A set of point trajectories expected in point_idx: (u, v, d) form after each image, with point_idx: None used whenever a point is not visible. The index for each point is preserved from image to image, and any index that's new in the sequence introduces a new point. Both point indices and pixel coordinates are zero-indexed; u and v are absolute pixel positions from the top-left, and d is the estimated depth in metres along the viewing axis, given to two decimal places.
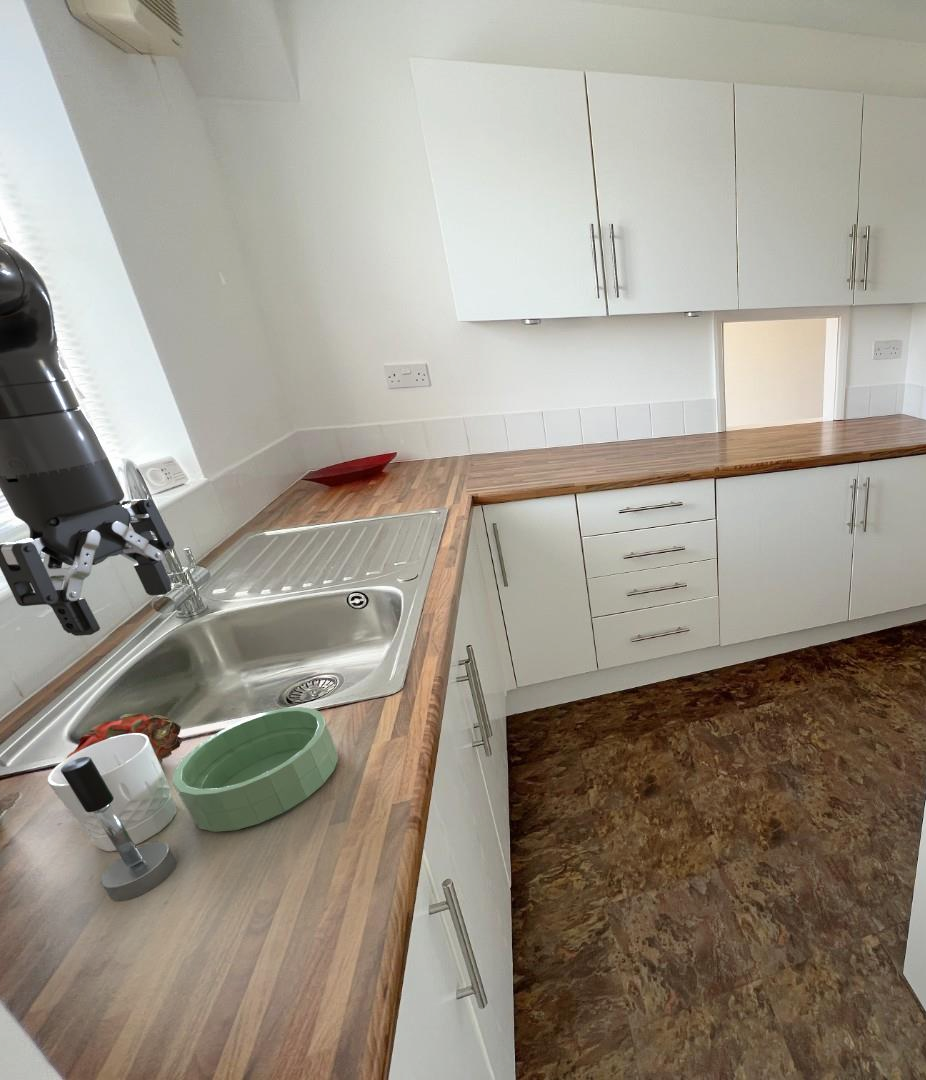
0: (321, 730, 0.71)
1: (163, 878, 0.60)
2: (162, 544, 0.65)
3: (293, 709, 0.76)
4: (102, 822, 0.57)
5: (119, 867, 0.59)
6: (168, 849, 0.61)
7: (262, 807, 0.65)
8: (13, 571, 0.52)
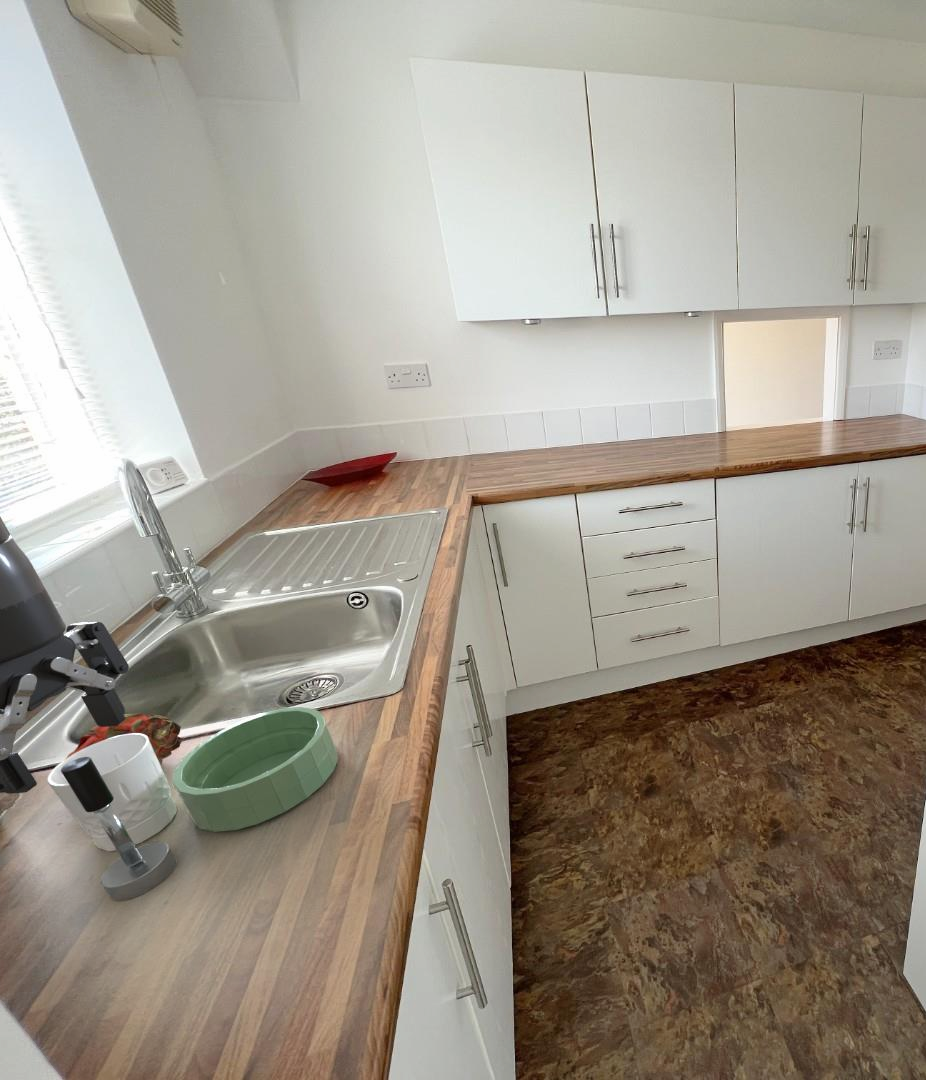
0: (321, 730, 0.71)
1: (163, 878, 0.60)
2: (114, 670, 0.58)
3: (293, 709, 0.76)
4: (102, 822, 0.57)
5: (119, 867, 0.59)
6: (168, 849, 0.61)
7: (262, 807, 0.65)
8: None
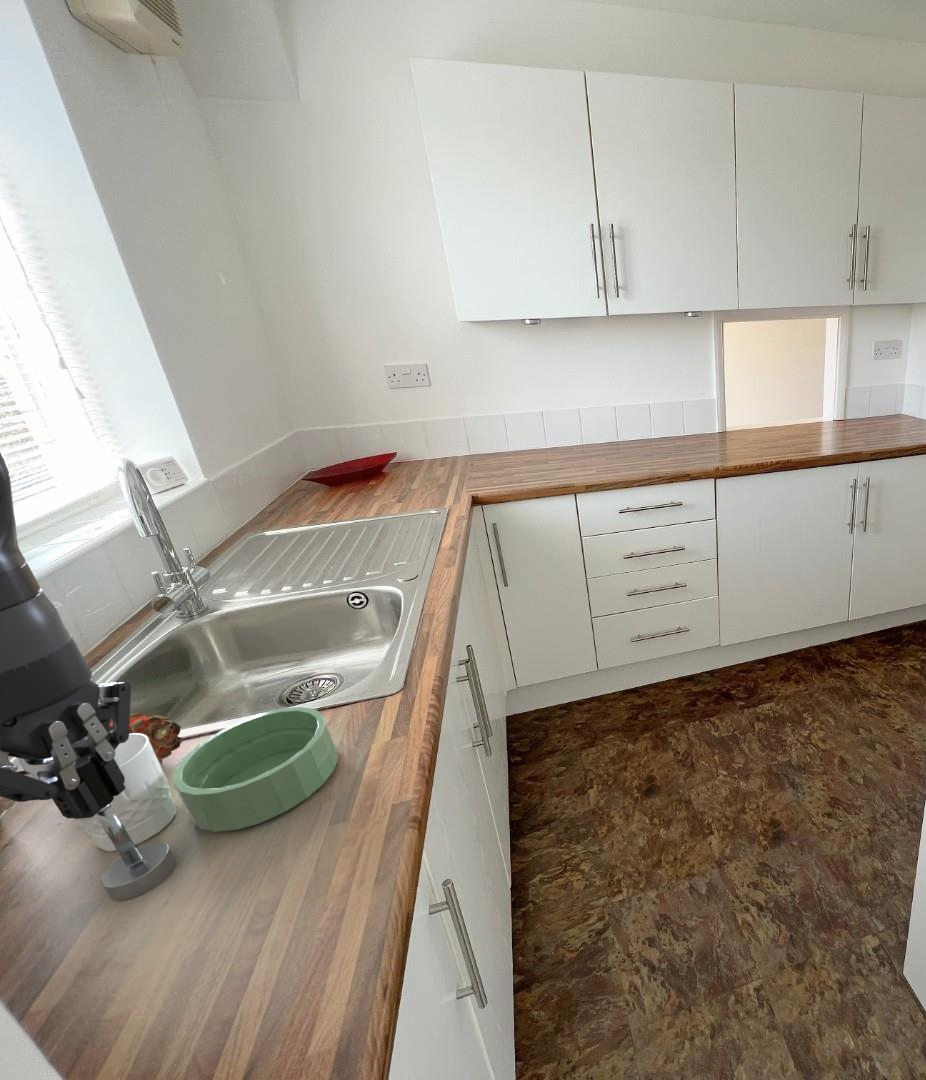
0: (321, 730, 0.71)
1: (163, 878, 0.60)
2: (114, 739, 0.57)
3: (293, 709, 0.76)
4: (102, 821, 0.57)
5: (119, 867, 0.59)
6: (168, 849, 0.61)
7: (262, 807, 0.65)
8: None
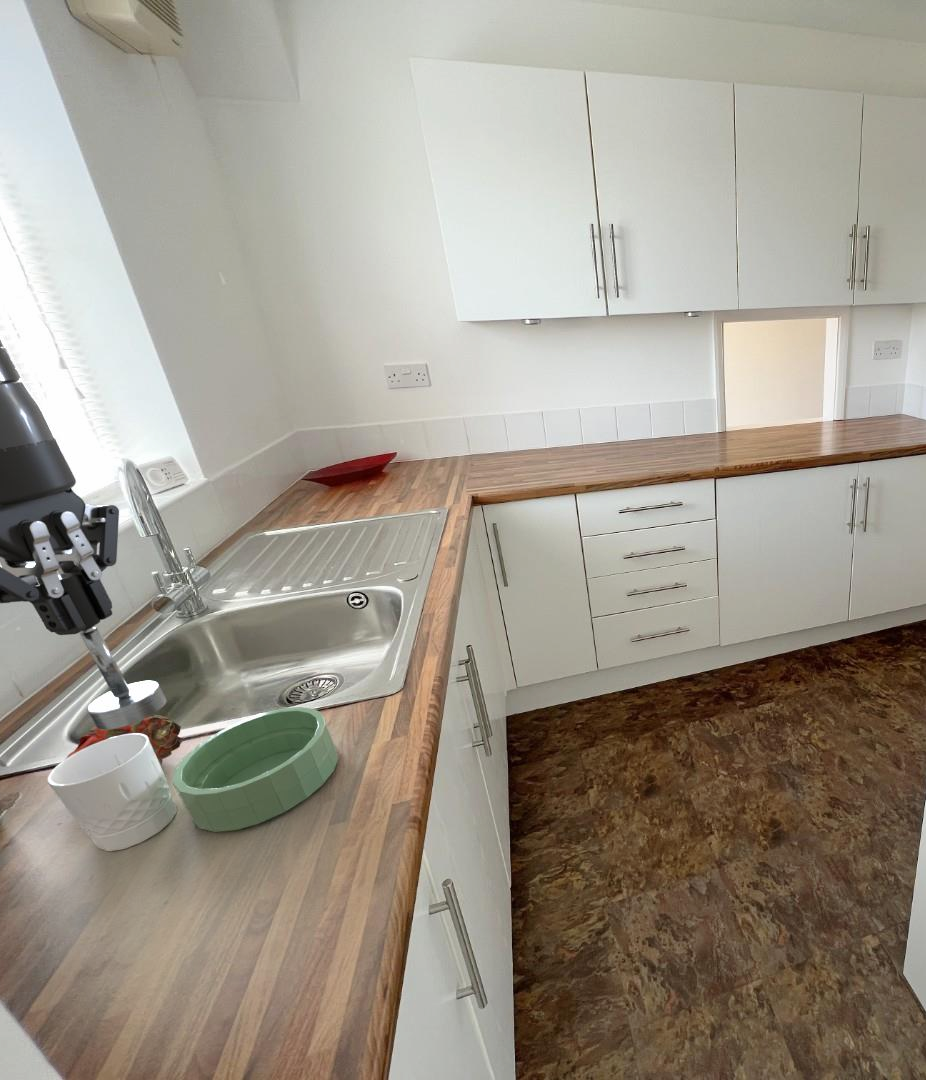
0: (321, 730, 0.71)
1: (152, 712, 0.58)
2: (101, 560, 0.55)
3: (293, 709, 0.76)
4: (88, 643, 0.54)
5: (107, 699, 0.57)
6: (158, 685, 0.59)
7: (262, 807, 0.65)
8: None
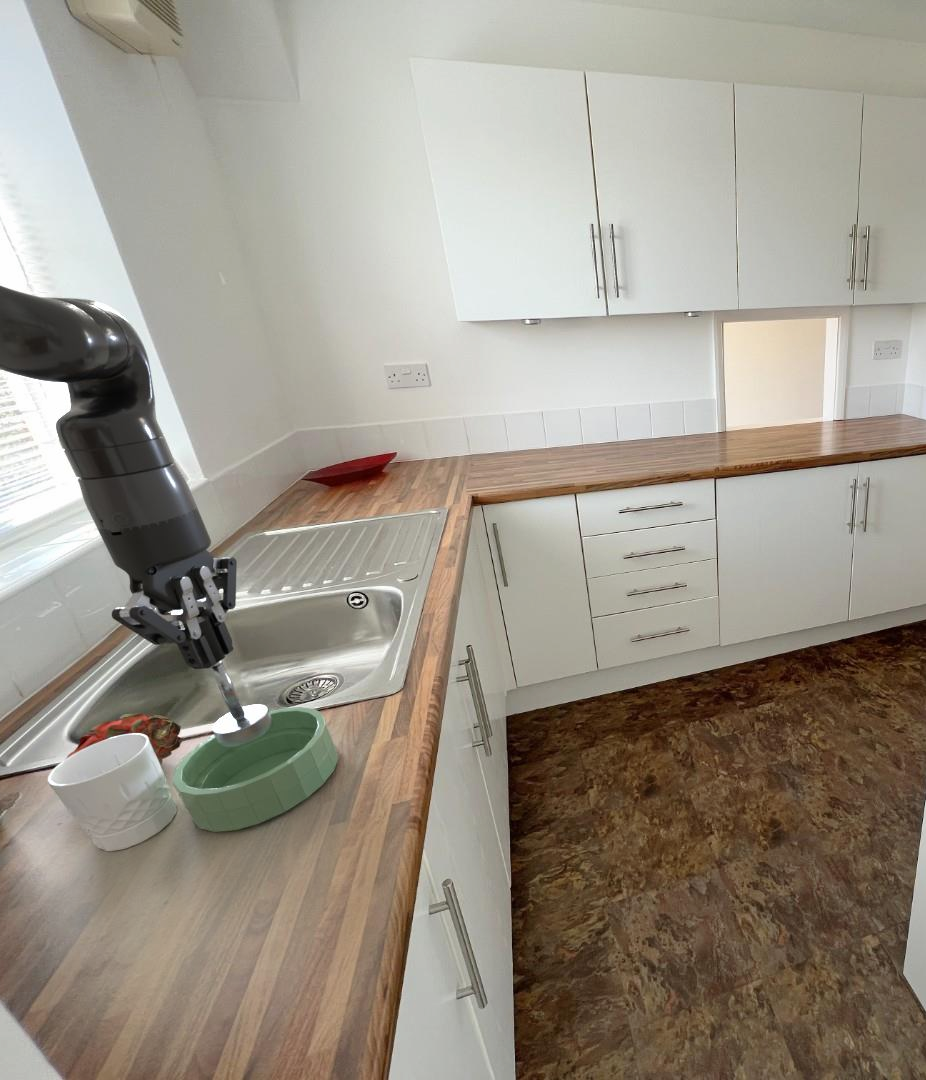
0: (321, 730, 0.71)
1: (264, 731, 0.68)
2: (225, 605, 0.65)
3: (293, 709, 0.76)
4: (216, 675, 0.65)
5: (226, 721, 0.67)
6: (267, 709, 0.69)
7: (262, 807, 0.65)
8: (139, 628, 0.57)
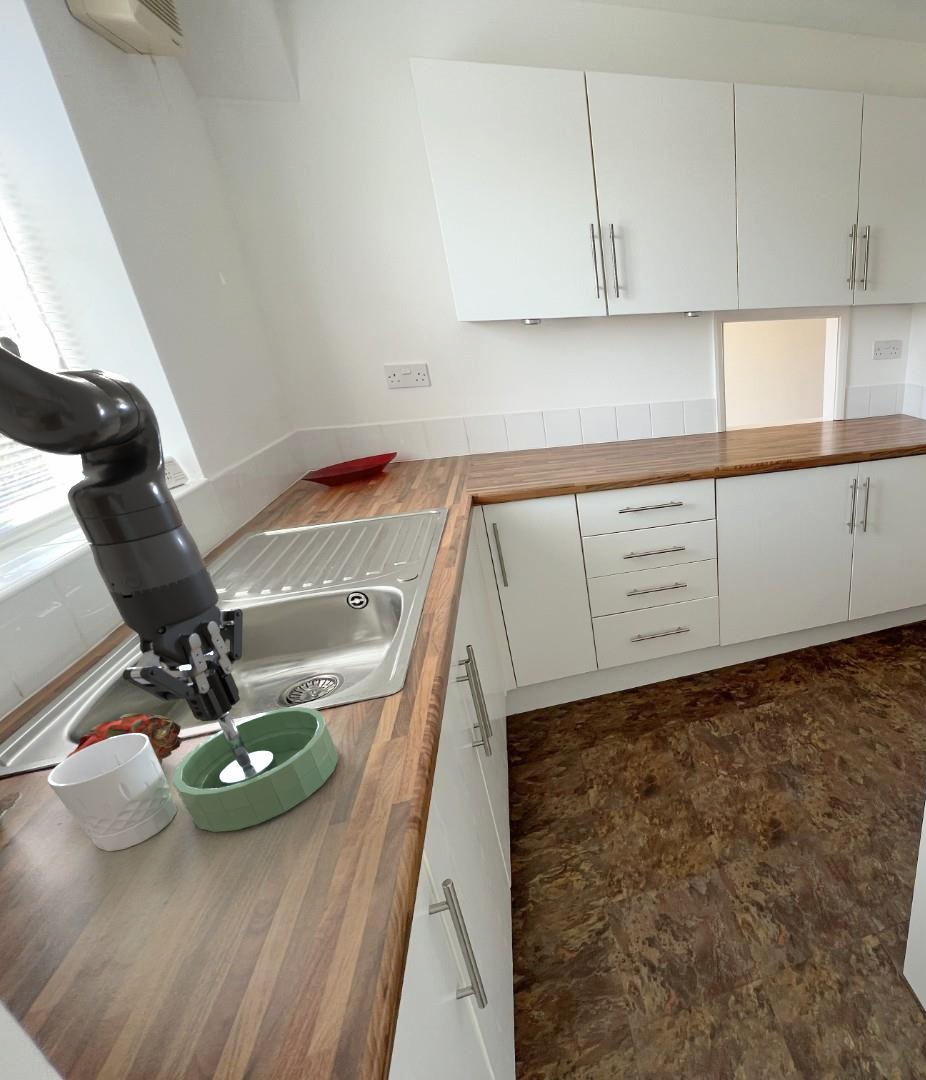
0: (321, 730, 0.71)
1: None
2: (231, 656, 0.67)
3: (293, 709, 0.76)
4: (223, 726, 0.66)
5: (233, 769, 0.69)
6: (272, 755, 0.71)
7: (262, 807, 0.65)
8: (149, 686, 0.58)
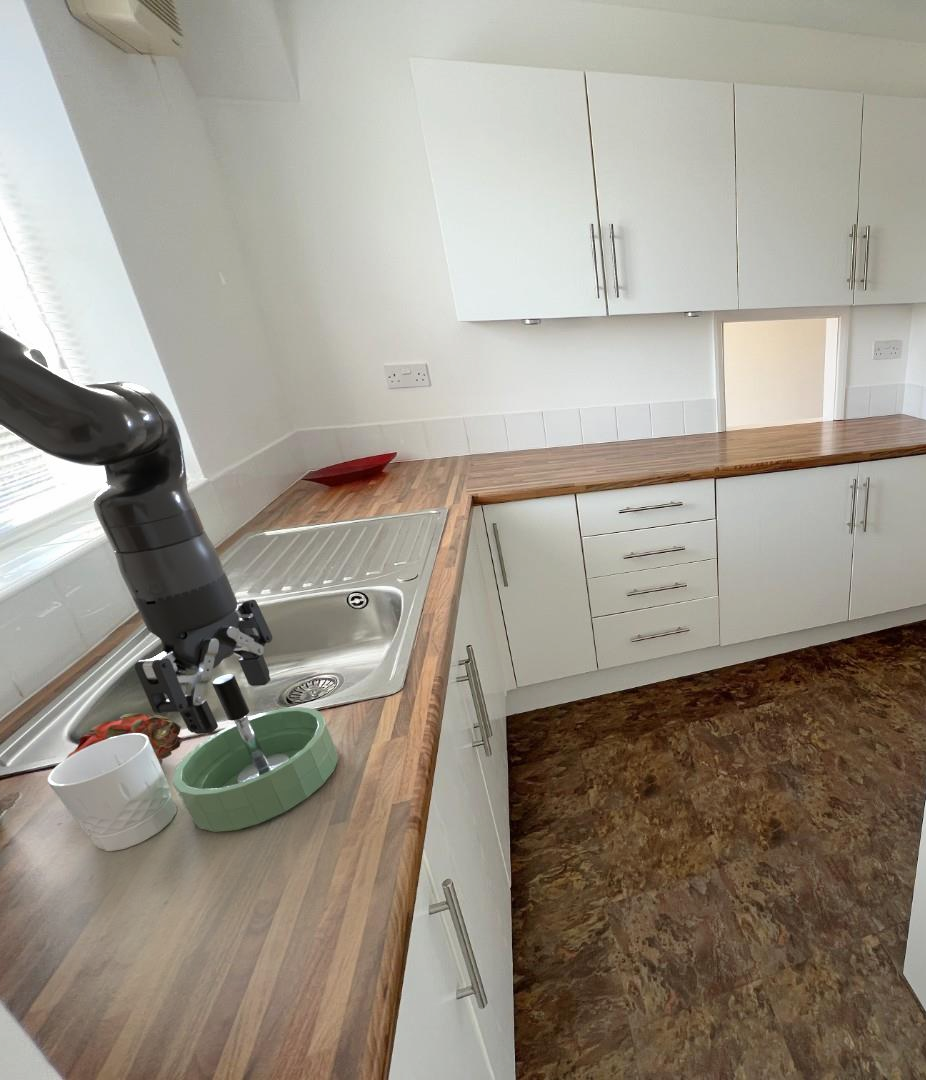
0: (321, 730, 0.71)
1: None
2: (263, 639, 0.71)
3: (293, 709, 0.76)
4: (240, 729, 0.68)
5: (250, 771, 0.70)
6: (288, 758, 0.72)
7: (262, 807, 0.65)
8: (151, 684, 0.58)
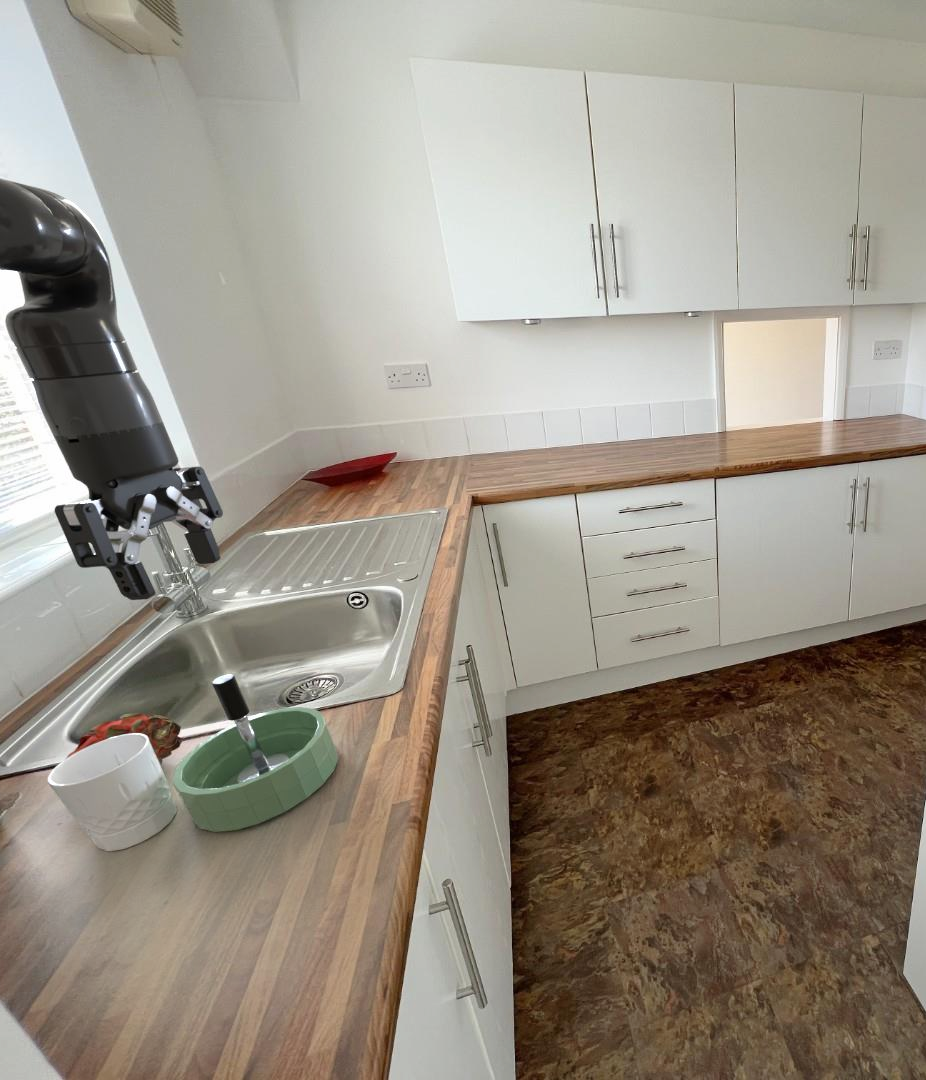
0: (321, 730, 0.71)
1: None
2: (211, 512, 0.65)
3: (293, 709, 0.76)
4: (240, 729, 0.68)
5: (250, 771, 0.70)
6: (288, 758, 0.72)
7: (262, 807, 0.65)
8: (74, 531, 0.52)
